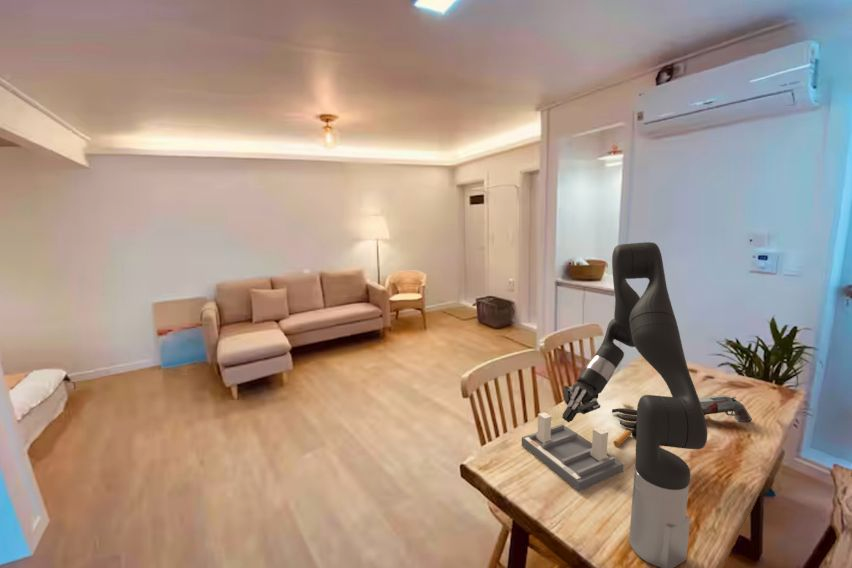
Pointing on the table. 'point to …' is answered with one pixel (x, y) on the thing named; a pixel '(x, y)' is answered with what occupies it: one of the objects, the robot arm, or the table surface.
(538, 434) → the far tab
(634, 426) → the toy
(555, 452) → the switch box
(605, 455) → the near tab
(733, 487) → the table surface
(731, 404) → the toy gun
